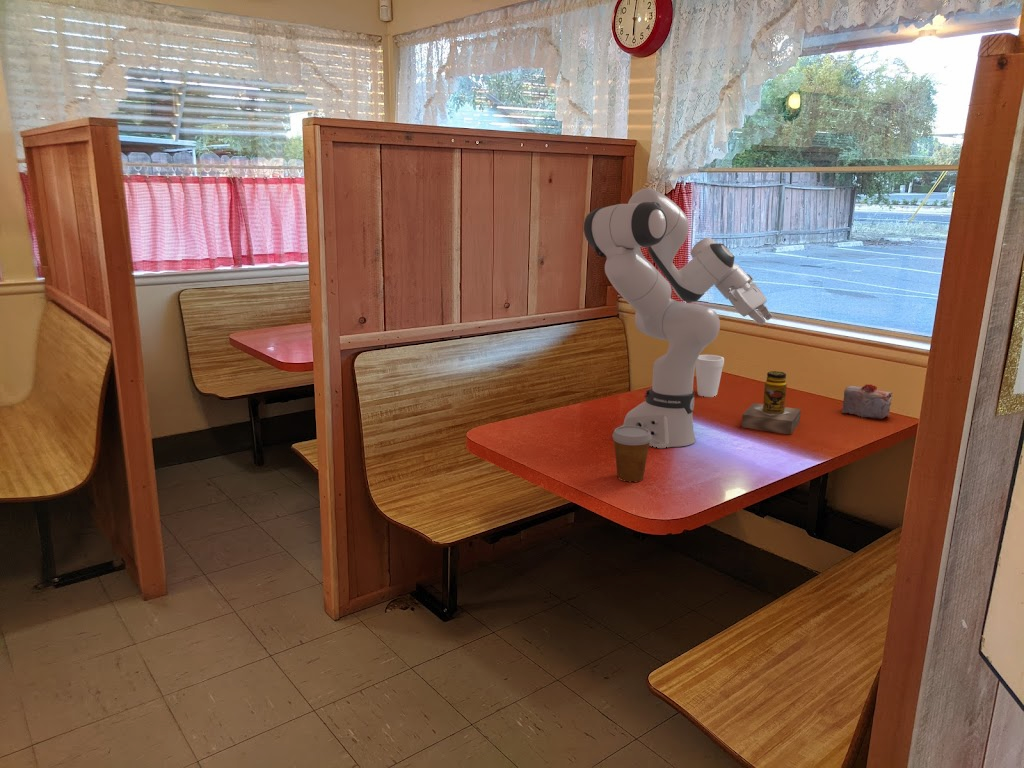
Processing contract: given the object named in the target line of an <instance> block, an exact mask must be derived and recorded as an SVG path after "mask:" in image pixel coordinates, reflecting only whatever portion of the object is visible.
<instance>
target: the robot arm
mask: <svg viewBox="0 0 1024 768" xmlns="http://www.w3.org/2000/svg"><path fill="white" fill-rule="evenodd" d="M583 222H584V223H583V233H584V237H585V239H586V241H587V243H588V244H589V246H590V247H591V248H592V249H594V251H595V254H596V255H597V256H599V257H601V258H606V259H605V260H606V261H605V264H604V273H605V275H606V277H607V279H608V281H609V282H610V284H611V286H613V288H614V289H615V291H616V292H617V293H618V294H619V295H620V296H621V297H622V299H624V300H625V301H626V302H627V303H628V304H629V306H630V307H632V309H634V311H635V314H634V323H635V327H636V329H637V330H638V331H639V333H643V334H644V335H647V336H648V337H650V338H653V339H656V340H657V339H658V340H663V341H667V342H668V344H669V345H668V349H667V351H666V352H665V353H664V354H663V355H661V356H659V357H658V358H656V359H655V361H654V363H653V365H652V367H653V368H652V369H653V370H652V384H651V386H649V387H648V388H647V390H646V391H645V392H643V398H644V399H645V401H643V402H641V403H639V404H637V405H636V406H635V407H634V408H632V409H631V410H629V411H628V412H627V414H626V415H625V417H624V420H623V424H622V425H620V426H619V427H621V426H639V427H643V428H646V429H648V430H649V431H650V434H651V436H652V439H651V441H650V443H649V447H652V446H653V447H652V448H656V447H657V449H666V447H667V448H673V447H674V448H675V447H676V448H678V447H685V446H689V445H693V444H694V443H696V442H697V441H696V440H697V439H696V435H695V430H694V422H693V412H694V408H695V391H694V378H695V372H696V362H697V359H698V357H699V355H701V353H702V352H703V350H704V349H705V348H707V346H709V345H711V344H712V343H713V342H715V340H716V338H717V337H718V335H719V334H720V329H721V320H720V317H719V315H718V313H717V312H716V311H715V310H713V309H712V308H709V307H706V306H704V305H702V304H697V302H698V301H699V300H700V299H701V298H702V297H703V296H704V295H705V293H706V292H707V291H709V290H710V289H711V288H712V287H715V288H716V289H717V290H718V291H719V292H720V294H721V295H723V297H724V298H725V299H726V300H729V302H730V303H731V304H732V306H733V307H734V308H735V310H736V312H738V314H740V315H741V316H742V317H746V316H749V317H750V318H751V319H752V320H754V321H755V322H756V323H757V324H758V325H759V326H762V325H764V324H765V323H766V321H769V320H770V319H772V318H773V314H772V313H771V312H770V310H769V309H768V307H767V305H766V303H767V298H766V296H765V294H764V293H763V292H762V290H761V289H760V288H759V287H758V285H757V284H756V283H755V282H754V278H753V277H752V276H751V274H748V273H746V272H745V271H744V270H743V269H742V267H741V266H740V265H738V264H737V263H735V258H736V257H735V255H734V254H733V253H732V252H731V251H730V250H729V248H728V247H727V246H726V245H725V244H724V243H718V242H717V241H716V240H714V239H713V238H711V237H705V238H703V239H700V240H699V241H698V242H696V244H695V245H694V246H692V249H691V250H690V256H691V257H692V258H691V260H689V262H687V263H686V264H685V265H684V266H683V267H681V268H680V269H678V268H677V267H676V265H675V264H674V263H673V262H674V258H675V257H676V255H677V253H678V252H679V251H680V249H681V247H682V245H684V243H685V242H686V239H687V237H688V234H689V230H690V229H689V227H690V224H689V219H688V217H687V215H686V213H685V212H684V211H683V210H682V208H681V207H680V206H678V204H677V203H675V202H674V201H673V200H672V199H670V198H669V197H668V196H666V195H665V194H664V193H661V192H659V191H657V190H655V189H654V188H648V187H645V188H642V189H641V188H640V189H639V190H637V191H636V192H635V193H633V194H632V196H631V197H630V198H629V200H628V202H627V203H618V204H615V205H614V204H613V205H609V206H600V207H598V208H595V209H594V210H592V211H590V212H589V213H588V214H587V215H586V217H585V218H584V221H583ZM641 248H647V252H648V254H649V256H650V258H651V260H652V261H653V262H654V263H655V266H656V267H655V266H654V264H653V263H652V262H650V261H649V260H648V259H647V258H646V257H645V256H644V254H643V252H642V249H641ZM657 268H658V269H659V270H658V269H657ZM672 291H673V292H674V294H676V297H678V298H679V299H681V300H682V301H681V300H680V301H679V300H676V299H673V298H672ZM694 302H696V303H694ZM757 310H758V311H757ZM759 312H760V313H761V314H762V315H763V316H761V315H760V314H759Z"/></svg>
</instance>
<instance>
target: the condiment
mask: <svg viewBox="0 0 1024 768" xmlns="http://www.w3.org/2000/svg"><path fill="white" fill-rule="evenodd" d="M786 378H787V374H786V373H785V372H783V371H776V370H775V371H774V370H772V371H768V372H767V373H766V380H765V382H764V388H763V389H764V390H763V403H762V404H763V407H758V408H755V409H757V410H759V411H761V412H763V413H765V414H768V415H782V414H788V413H790V412H787V411H785V410H784V409H785V407H786V396H787V388H788V387H787V386H788V385H787V382H786V380H787V379H786Z"/></svg>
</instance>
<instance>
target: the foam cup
mask: <svg viewBox="0 0 1024 768" xmlns="http://www.w3.org/2000/svg"><path fill="white" fill-rule="evenodd" d="M724 366H725V358H724V357H723V356H721V355H716V354H700V355H699V357H698V359H697V362H696V365H695V374H696V375H695V376H696V389H697V395H698V396H699V397H703V396H704V397H703V398H714V396H715V397H717V396H716V395H718V392H719V387H720V382H721V377H722V372H723V367H724Z"/></svg>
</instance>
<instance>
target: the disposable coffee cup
mask: <svg viewBox="0 0 1024 768" xmlns="http://www.w3.org/2000/svg"><path fill="white" fill-rule="evenodd" d="M620 426H621V427H620ZM620 426H617V427H616V428H614V431H613V433H612V435H611V437H612V439H613V443H614V444H613V445H614V453H615V465H616V477H617V476H618V477H617V479H618V478H620V479H622V480H625V481H634V482H633V483H636V482H635V481H639V482H641V481H643V480H644V475H645V471H646V470H645V469H646V465H647V460H648V454H649V447H650V446H649V443H650V441H651V439H652V436H651V434H650V431H649V430H648V429H646V428H643V427H639V426H622V425H620ZM620 479H619V480H620ZM642 479H643V480H642ZM622 480H621V481H622ZM640 480H641V481H640ZM625 481H624V482H625Z"/></svg>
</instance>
